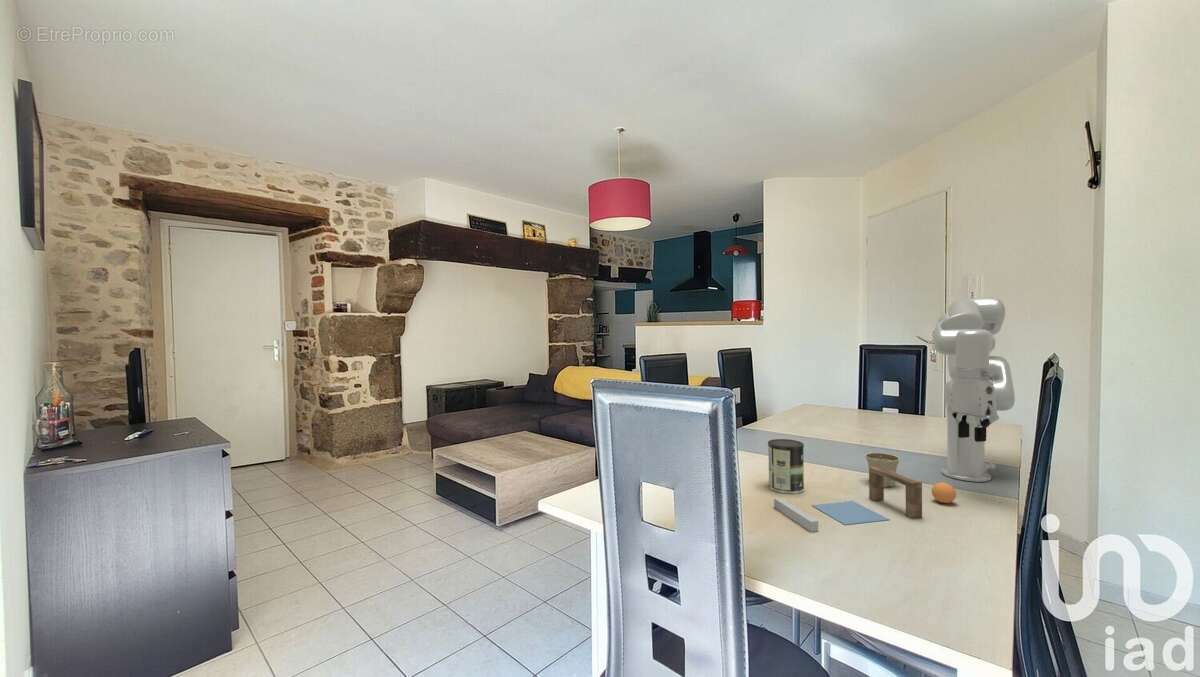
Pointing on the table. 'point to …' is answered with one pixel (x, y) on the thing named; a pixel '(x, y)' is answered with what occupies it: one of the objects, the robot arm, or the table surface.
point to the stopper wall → (796, 514)
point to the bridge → (911, 485)
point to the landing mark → (850, 512)
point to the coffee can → (786, 466)
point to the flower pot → (883, 464)
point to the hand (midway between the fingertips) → (971, 438)
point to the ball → (943, 492)
